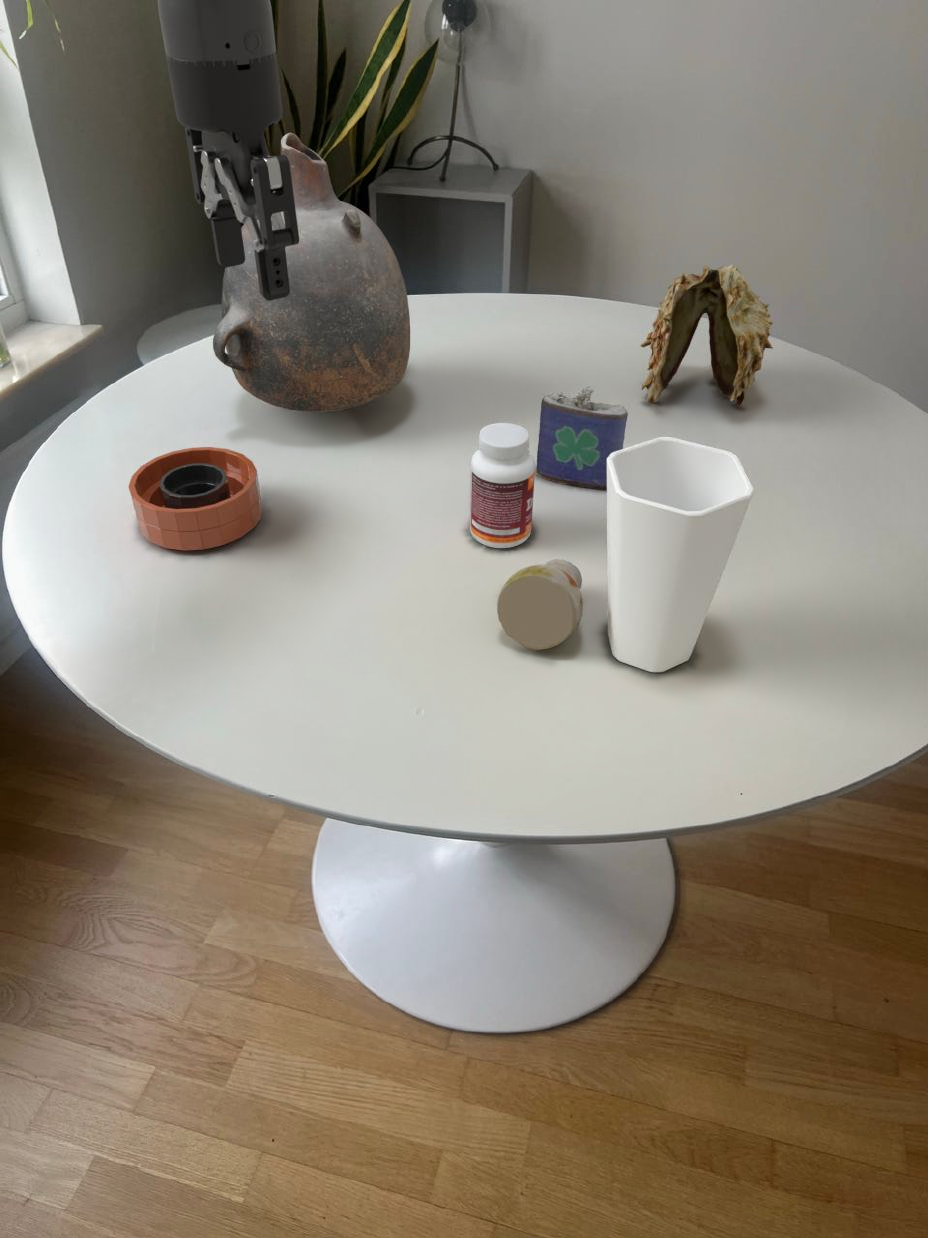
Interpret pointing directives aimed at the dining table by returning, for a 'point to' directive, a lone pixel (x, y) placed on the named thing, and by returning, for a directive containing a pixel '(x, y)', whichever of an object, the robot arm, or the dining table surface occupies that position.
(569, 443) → the flask
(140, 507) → the terracotta bowl
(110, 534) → the dining table surface
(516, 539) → the pill bottle
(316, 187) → the jug
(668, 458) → the cup
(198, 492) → the black bowl
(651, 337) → the seashell
